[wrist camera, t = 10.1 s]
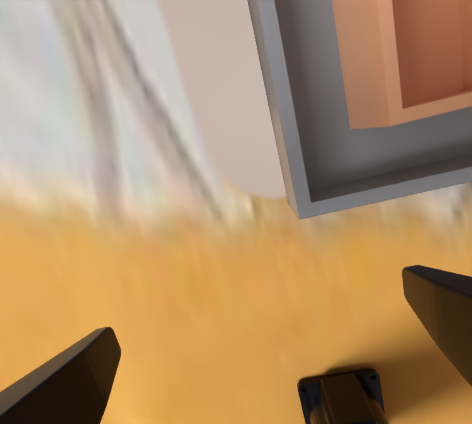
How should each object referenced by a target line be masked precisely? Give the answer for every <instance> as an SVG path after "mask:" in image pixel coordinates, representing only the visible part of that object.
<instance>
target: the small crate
mask: <svg viewBox="0 0 472 424" xmlns="http://www.w3.org/2000/svg"><path fill="white" fill-rule="evenodd" d="M332 5H333V12H334V19H335V26H336V33H337V40H338V47H339V54H340V61H341V68H342V75H343V82H344V89H345V96H346V103H347V110H348V117H349V124H350V129H362V128H374V127H386V126H393V125H397V124H401V123H405V122H409V121H414V120H418V119H422V118H426V117H430V116H434V115H438V114H442V113H446V112H450V111H454V110H458V109H462V108H466V107H470V106H472V0H332Z"/></svg>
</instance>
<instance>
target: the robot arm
mask: <svg viewBox="0 0 472 424" xmlns="http://www.w3.org/2000/svg"><path fill="white" fill-rule="evenodd" d="M402 278H403V287H404V295H405V298H406V300H407V302H408V303H409V305H410V306H411V308H412V309H413V311H414V312H415V314H416V315H417V316H418V318H419V319H420V321H421V322H422V324H423V325H424V327H425V328H426V330H427V331H428V333H429V334H430V336H431V337H432V339H433V340H434V341H435V343H436V344H437V345H438V347H439V348H440V349H441V351H442V352H443V353H444V354H445V355H446V357H447V358H448V359H449V360H450V361H451V363H452V364H453V365H454V366H455V367H456V369H457V370H458V371H459V372H460V373H461V374H462V376H463V377H464V378H465V379H466V380H467V382H468V383H469V384H470V385H471V386H472V277H470V276H465V275H461V274H456V273H452V272H447V271H443V270H438V269H434V268H430V267H425V266H421V265H414V266H409V267H405V268H403V270H402ZM120 357H121V349H120V346H119V343H118V340H117V338H116V335H115V333H114V330H113V329H112V328H111V327H104V328H99V329H97V330H95V331H93V332H92V333H90V334H89V335H87V336H86V337H84V338H83V339H81V340H80V341H78V342H77V343H75V344H73V345H72V346H70V347H69V348H67V349H66V350H64V351H63V352H61V353H60V354H58V355H57V356H55V357H53V358H52V359H50V360H49V361H47V362H46V363H44V364H43V365H41V366H40V367H38V368H37V369H35V370H33V371H32V372H30V373H29V374H27V375H26V376H24V377H23V378H21V379H20V380H18V381H17V382H15V383H13V384H12V385H10V386H9V387H7V388H6V389H4V390H3V391H1V392H0V424H100V422H101V420H102V417H103V414H104V411H105V409H106V406H107V403H108V399H109V396H110V393H111V389H112V385H113V382H114V378H115V375H116V371H117V368H118V364H119V361H120ZM371 375H373V376H371ZM303 387H305V388H303ZM297 388H298V392H299V397H300V401H301V405H302V410H303V414H304V418H305V423H306V424H389V422H388V420H387V418H386V416H385V413H384V406H383V399H382V392H381V385H380V378H379V375H378V373H377V371H376V370H375V369H365V370H359V371H353V372H348V373H342V374H337V375H331V376H325V377H320V378H314V379H308V380H303V381H300V382H299V383H298V384H297Z"/></svg>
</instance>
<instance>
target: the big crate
mask: <svg viewBox="0 0 472 424" xmlns="http://www.w3.org/2000/svg"><path fill="white" fill-rule="evenodd" d="M248 5H249V9H250V15H251V20H252V25H253V30H254V35H255V39H256V44H257V50H258V55H259V60H260V65H261V70H262V75H263V79H264V85H265V89H266V95H267V100H268V105H269V109H270V115H271V120H272V125H273V129H274V134H275V139H276V144H277V149H278V154H279V159H280V164H281V169H282V174H283V179H284V184H285V189H286V194H287V199H288V204H289V205H290V207H291V208H292V210H293V211H294V213H295V214H296V215H297V217H298V218H299V220H300V219H304V218H309V217H313V216H318V215H322V214H327V213H331V212H336V211H340V210H345V209H349V208H354V207H358V206H363V205H367V204H372V203H376V202H381V201H385V200H390V199H394V198H399V197H403V196H408V195H412V194H417V193H421V192H426V191H430V190H435V189H439V188H444V187H448V186H453V185H457V184H462V183H466V182H471V181H472V106H470V107H466V108H462V109H458V110H454V111H450V112H446V113H442V114H438V115H434V116H430V117H426V118H422V119H418V120H414V121H409V122H405V123H401V124H397V125H393V126H386V127H374V128H362V129H350V124H349V117H348V110H347V103H346V96H345V89H344V82H343V75H342V68H341V61H340V54H339V47H338V40H337V33H336V26H335V19H334V12H333V5H332V0H248Z"/></svg>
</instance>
